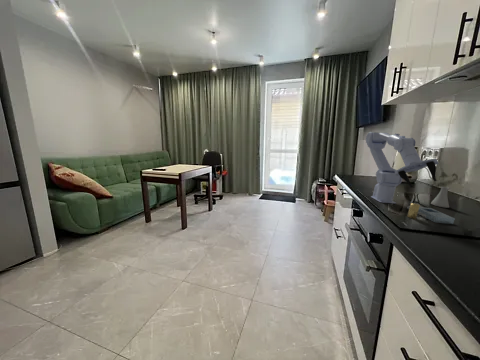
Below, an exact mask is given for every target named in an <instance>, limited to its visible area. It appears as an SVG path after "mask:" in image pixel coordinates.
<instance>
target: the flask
mask: <svg viewBox="0 0 480 360" xmlns="http://www.w3.org/2000/svg"><path fill="white" fill-rule="evenodd" d="M440 188H441V189H440V191H439V193H438V194H437V195H436V196H435V198H434V199H432V201H431V202H430V204H431V205H433V206H435V207H440V208H448V209H449V208H450V205H449V198H448V191H449V190H450V187H449V186H440Z"/></svg>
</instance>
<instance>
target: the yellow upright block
mask: <svg viewBox="0 0 480 360" xmlns="http://www.w3.org/2000/svg"><path fill="white" fill-rule="evenodd" d="M409 206H410V208H409V209H408V212H407V218H409V219H412V220H416V219H417V217H418V215H419V214H418V210H419V207H421V205H420V204H419V203H415V202H410V205H409Z"/></svg>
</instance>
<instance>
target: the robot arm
mask: <svg viewBox="0 0 480 360" xmlns="http://www.w3.org/2000/svg"><path fill="white" fill-rule="evenodd" d="M365 143H366V145H367V147H368V148H369V152H370V153H371V156H372V158H373V160H374V162H375V165H376V166H377V171H376V173H375V177H376V178H375V179H376V182H377V183H376V184H375V185H374V188H373V193H372V195H371V196H370V198H372V199H374V200H375V201H378V202H379V203H384V204H395V205H396V204H397V202H395V201H393V199H394V195H395V191H396V189H397V188H396V187H398V186H399V185H401V183H402V182H403V180H404V181H405V182H406V183H407V184H408V186H409V187H410V188H413V185H412V182H411V181H410V179H409V176H408V174H407V173H411V172H413V173H414V172H417V171H420V170H422V169H424V168H426V167H427V168H428V171H429V173H430V176H431V178H432V180H433V182H437V179H436V173H437V172H436V171H437V165H439V163H440V162H439V160H438V159H437V158H436V157H435V158H431V159H424V160H422V159H421V157H420V155H419V153H418V151H417V149H416V139H414V137H406V136H405V135H400V133H393V134H390V133H389V132H376V131H375V132H374V131H368V133H367V134H366V137H365ZM386 144H388V146H391V147H393V149H394V150H395V151H397V152H398V153H399V154H400V156H401V159H402V161H403V163H404V164H403V165H404V166H403V167H400V168H398V169H395V168H393V167H391V165H390V163H389V161H388V159H387V157H386V155H385V153H384V151H383V149H385V147H386Z"/></svg>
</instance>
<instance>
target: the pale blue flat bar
mask: <svg viewBox="0 0 480 360" xmlns="http://www.w3.org/2000/svg"><path fill="white" fill-rule="evenodd" d="M409 208H410V205H407V208H406V209H407V210H409ZM417 215H419V216H422V217H423V218H425V219H428V220H430V221H431V222H434V223H436V224H437V223H440V224H448V225H449V224H451V225H454V222H455V219H456V218H455V217H453V216H450V215H448V214H446V213H443V212H441V211H439V210H437V209H435V208H432V207H423V206H420V207H419V210H418V214H417Z"/></svg>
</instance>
